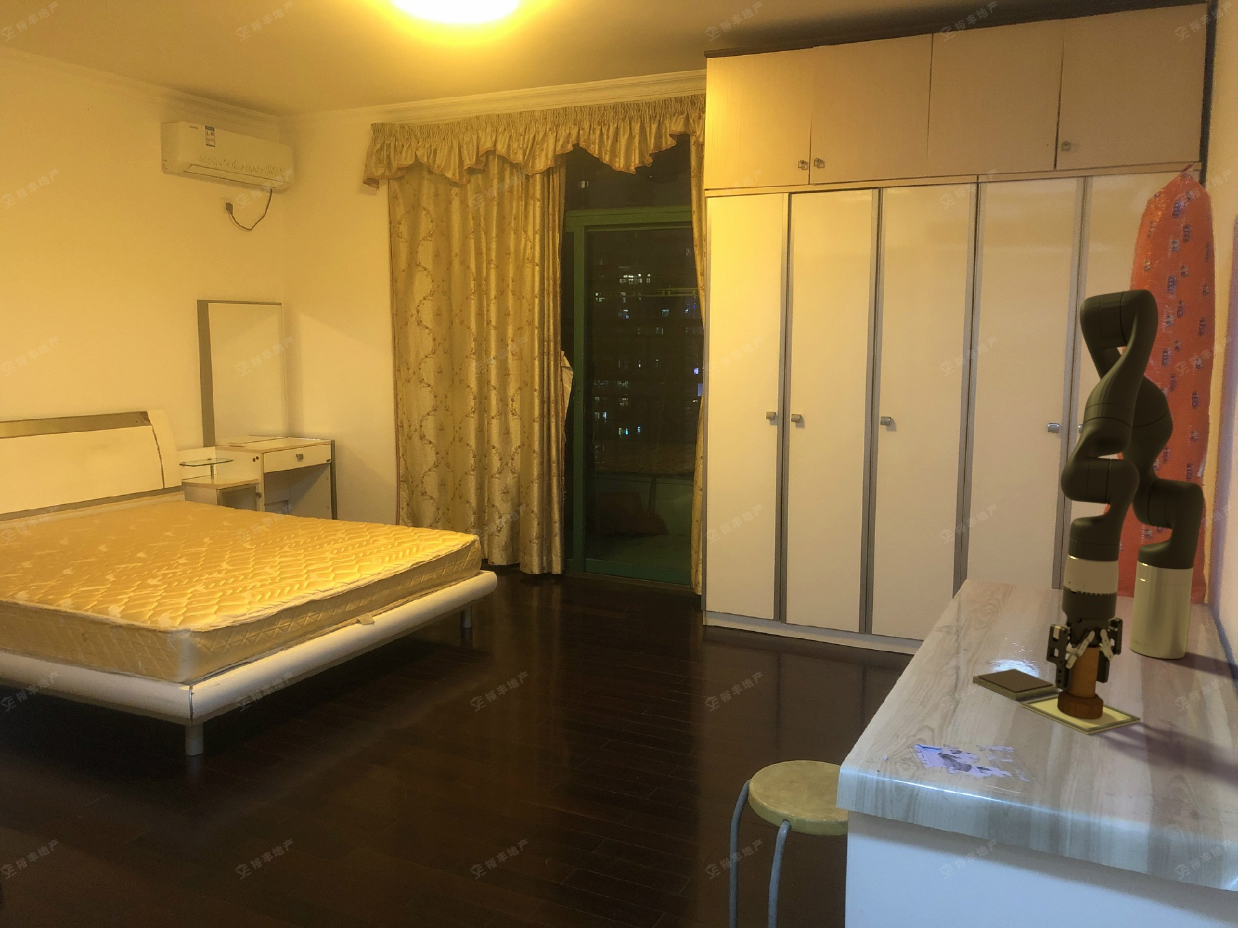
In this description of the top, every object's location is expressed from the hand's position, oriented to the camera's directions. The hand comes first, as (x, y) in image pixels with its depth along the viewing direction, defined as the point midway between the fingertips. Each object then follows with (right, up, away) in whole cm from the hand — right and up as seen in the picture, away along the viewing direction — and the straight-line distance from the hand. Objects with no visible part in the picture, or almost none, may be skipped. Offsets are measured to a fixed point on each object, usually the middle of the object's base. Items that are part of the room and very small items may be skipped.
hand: (1081, 685), depth 148 cm
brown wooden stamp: (0, -4, +1) cm, 5 cm away
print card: (0, -5, +1) cm, 5 cm away
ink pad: (-6, -3, +12) cm, 13 cm away
